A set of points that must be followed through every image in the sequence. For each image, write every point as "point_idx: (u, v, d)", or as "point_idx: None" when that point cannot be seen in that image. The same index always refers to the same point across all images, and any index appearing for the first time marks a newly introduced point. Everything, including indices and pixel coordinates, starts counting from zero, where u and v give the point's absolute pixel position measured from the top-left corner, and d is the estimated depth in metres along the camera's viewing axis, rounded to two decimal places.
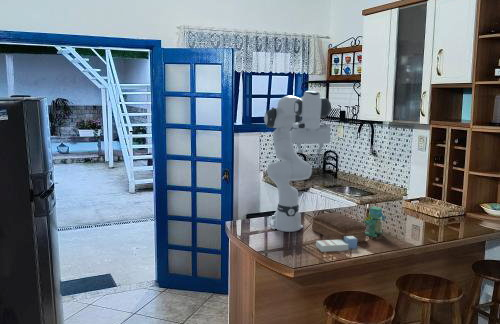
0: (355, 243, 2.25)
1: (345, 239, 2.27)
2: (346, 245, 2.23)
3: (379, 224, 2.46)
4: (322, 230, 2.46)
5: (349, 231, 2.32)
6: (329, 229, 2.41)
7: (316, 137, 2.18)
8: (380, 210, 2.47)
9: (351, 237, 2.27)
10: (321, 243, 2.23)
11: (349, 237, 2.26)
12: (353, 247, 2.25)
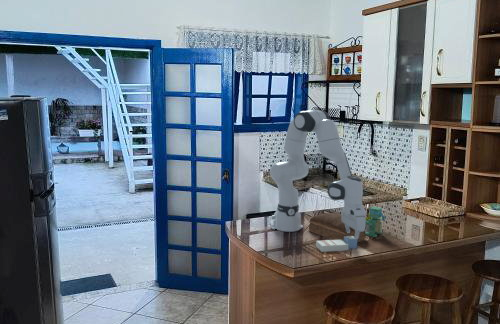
0: (355, 243, 2.25)
1: (345, 239, 2.27)
2: (346, 245, 2.23)
3: (379, 224, 2.46)
4: (321, 231, 2.45)
5: (352, 231, 2.32)
6: (330, 230, 2.39)
7: None
8: (380, 210, 2.47)
9: (351, 237, 2.27)
10: (321, 243, 2.23)
11: (349, 237, 2.26)
12: (353, 247, 2.25)
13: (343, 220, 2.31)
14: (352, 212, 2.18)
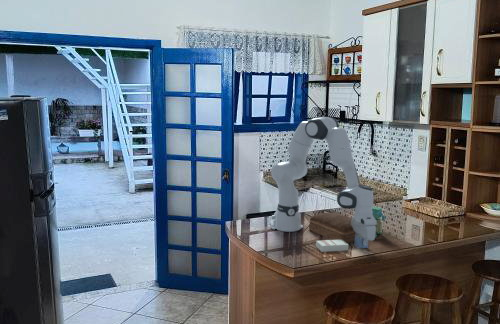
0: None
1: (356, 238, 2.28)
2: (346, 245, 2.23)
3: (379, 224, 2.46)
4: (320, 230, 2.46)
5: (349, 231, 2.33)
6: (328, 229, 2.41)
7: None
8: (380, 210, 2.47)
9: None
10: (321, 243, 2.23)
11: (360, 236, 2.28)
12: (364, 246, 2.27)
13: (353, 228, 2.34)
14: (362, 221, 2.20)
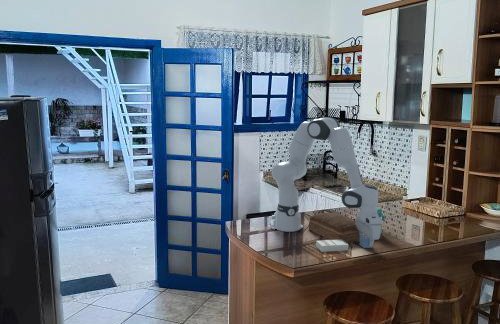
0: None
1: (361, 238, 2.29)
2: (346, 245, 2.23)
3: None
4: (319, 230, 2.47)
5: (346, 231, 2.33)
6: (326, 229, 2.41)
7: None
8: (380, 210, 2.47)
9: (367, 236, 2.29)
10: (321, 243, 2.23)
11: (365, 236, 2.28)
12: (369, 246, 2.27)
13: (357, 227, 2.34)
14: (367, 220, 2.21)
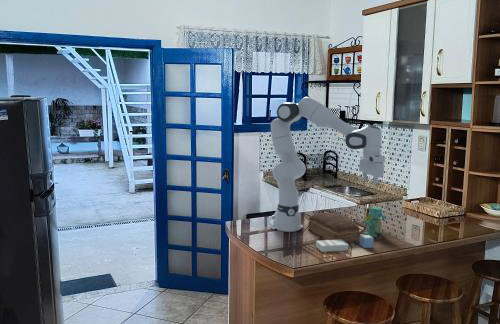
0: (371, 242, 2.27)
1: (361, 238, 2.29)
2: (346, 245, 2.23)
3: (379, 224, 2.46)
4: (317, 230, 2.47)
5: (342, 231, 2.32)
6: (323, 229, 2.41)
7: None
8: (380, 210, 2.47)
9: (367, 236, 2.29)
10: (321, 243, 2.23)
11: (365, 236, 2.28)
12: (369, 246, 2.27)
13: (361, 169, 2.41)
14: (371, 159, 2.27)
